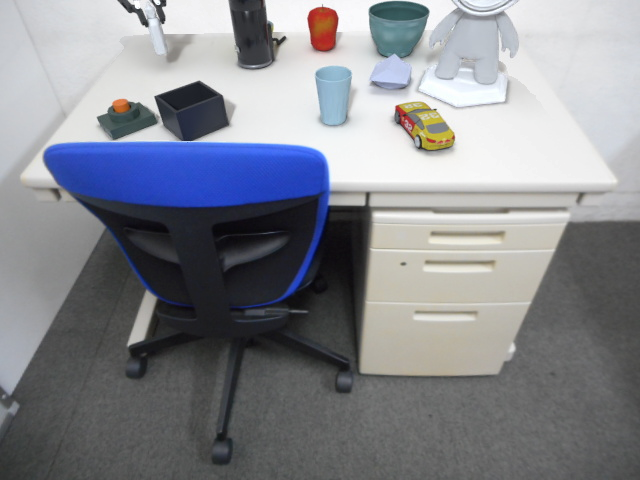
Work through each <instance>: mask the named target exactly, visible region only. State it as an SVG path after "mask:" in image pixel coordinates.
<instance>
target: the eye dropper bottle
mask: <svg viewBox="0 0 640 480" xmlns="http://www.w3.org/2000/svg"><path fill="white" fill-rule="evenodd" d="M143 11H144V14H145V17H146V19H147V22H148V27H147V29H148V33H149V37H150V40H151V43H152V46H153V49H154V52H155V54H156V55H157V56H165V55H168V53H169V47H168V44H167V40H166V36H165V33H164V29H163V24H161V22H160V19H159V17H158V15H157V12H156V8H155V7H154V6H153V5H151V2H150V1H146V2H145V8H144V10H143Z"/></svg>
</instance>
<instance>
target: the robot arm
mask: <svg viewBox="0 0 640 480" xmlns="http://www.w3.org/2000/svg"><path fill="white" fill-rule="evenodd" d="M116 1H117V2H118V3H119V4H120V5H121V6H122V7H123V9H124V10H125V11H126V12H127V13H128V14H136V15H137V18H138V20H139V22H140V24H141V26H142V27H145V28H147V29H148V22H147V16H146V14H145V11H144V10H143V8H141V4H140V0H133V4H132V2H130V1H129V0H116ZM148 2H149V3H150V4H152V6H153V7H154V8H155V12H156V15H157V17H158V18H159V20H160V22H161V25H165V24H166V23H165V22H166V19H167V18H166V14H165V12H164V10H163V8H166V7H167V0H148ZM227 2H228V7H229V8H228V9H229V13H230V19H231V25H232V32H233V38H234V44H233V46H234V50H235V51H236V55H237V56H236V57H237V64H238V66H240V67H241V68H244V69H249V70H256V69H262V68H265V67H267V66H269V65H271V64H272V63H273V62H275V60H276V59H275V50H274V49H275V47H274V42H275V44H276V45H280V44H281V43H283V42H284V41H285V40H286V39H287V36H286V35H283V36H282V37H281V38H280V39H279V38H277V37H273V34H272V29H271V24H270V23H268V21H269V20H268V13H267V3H266V0H227ZM267 20H268V21H267Z"/></svg>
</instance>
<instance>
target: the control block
mask: <svg viewBox="0 0 640 480" xmlns="http://www.w3.org/2000/svg"><path fill="white" fill-rule="evenodd" d="M128 103H129V106H130V109H129V110H128V111H125V112H119V113H118V112H115V110H114V107H113V105H112V104H111V105H110V106H109V107H108V108H107V111H106V113H104V114H101V115H97V116H96V120H97V121H98V124H99V126H100V127H101V128H102V129H103V130H104V132H106V133H107V135H109V136H110V138H111V139H112V140H117V139H120V138H122V137H124V136H127V135H130V134H133V133H135V132H138V131H140V130H144V129H146V128H148V127H151V126H153V125H156V124H157V123H158V122H157V121H158V120H157V119H156V115H155V113H153V111H150V110H149V109H148V108H147V107H146V106H145V105H144V104H143V103H141V102H140V101H138V102H134V101H129V100H128Z"/></svg>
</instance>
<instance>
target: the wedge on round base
mask: <svg viewBox="0 0 640 480" xmlns="http://www.w3.org/2000/svg"><path fill="white" fill-rule="evenodd" d="M412 70H413V69H412V65H411V64H410V63H408V62H407V61H403V59H402V58H401V57H398V56H397V55H396V54H393V55H392V56H390V57H388V56H387V58H385V59H383V60H382V61H379V62H377V63H376V64H375V66H374V67H373V70H372V72H371V74H370V76H369V78H368V81H370V82H374V83H375V84H376V85H377V86H379V87H381V88H384V89H389V90H392V89H394V90H396V89H397V90H398V89H403V88H405V87H407V86H409V84H410V83H411V78H412Z"/></svg>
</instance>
